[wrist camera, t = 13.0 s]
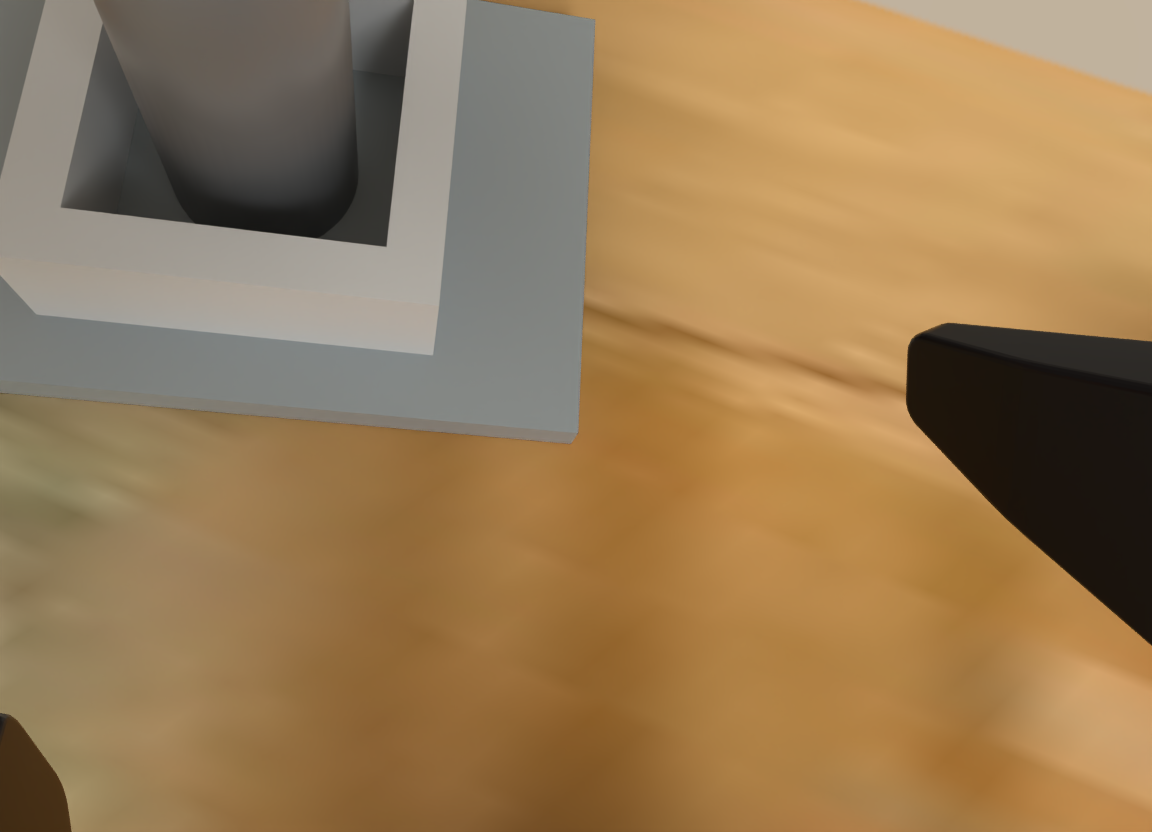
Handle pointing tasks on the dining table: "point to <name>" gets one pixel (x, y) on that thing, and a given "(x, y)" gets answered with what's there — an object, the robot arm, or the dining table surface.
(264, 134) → the peg
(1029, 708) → the dining table surface
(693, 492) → the dining table surface
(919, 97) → the dining table surface
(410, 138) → the dock
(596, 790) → the dining table surface
